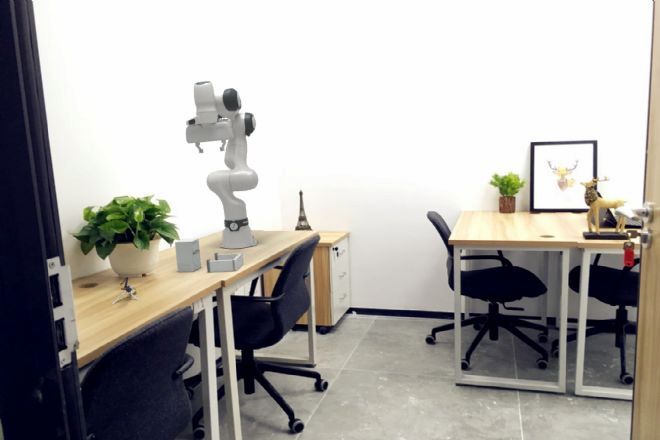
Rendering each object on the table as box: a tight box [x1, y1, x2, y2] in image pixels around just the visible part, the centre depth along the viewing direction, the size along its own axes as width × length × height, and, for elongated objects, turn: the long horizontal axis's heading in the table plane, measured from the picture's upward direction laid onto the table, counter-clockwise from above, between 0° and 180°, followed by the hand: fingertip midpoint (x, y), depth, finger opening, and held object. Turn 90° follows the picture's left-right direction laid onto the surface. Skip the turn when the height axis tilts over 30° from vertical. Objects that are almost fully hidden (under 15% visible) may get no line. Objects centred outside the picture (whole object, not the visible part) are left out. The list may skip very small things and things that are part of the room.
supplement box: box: [174, 238, 202, 273], centre depth 206 cm, size 7×7×13 cm
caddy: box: [205, 252, 244, 273], centre depth 206 cm, size 13×12×5 cm
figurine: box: [110, 276, 140, 305], centre depth 168 cm, size 10×9×20 cm
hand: (211, 152), depth 215 cm, fingers open, 8 cm apart
